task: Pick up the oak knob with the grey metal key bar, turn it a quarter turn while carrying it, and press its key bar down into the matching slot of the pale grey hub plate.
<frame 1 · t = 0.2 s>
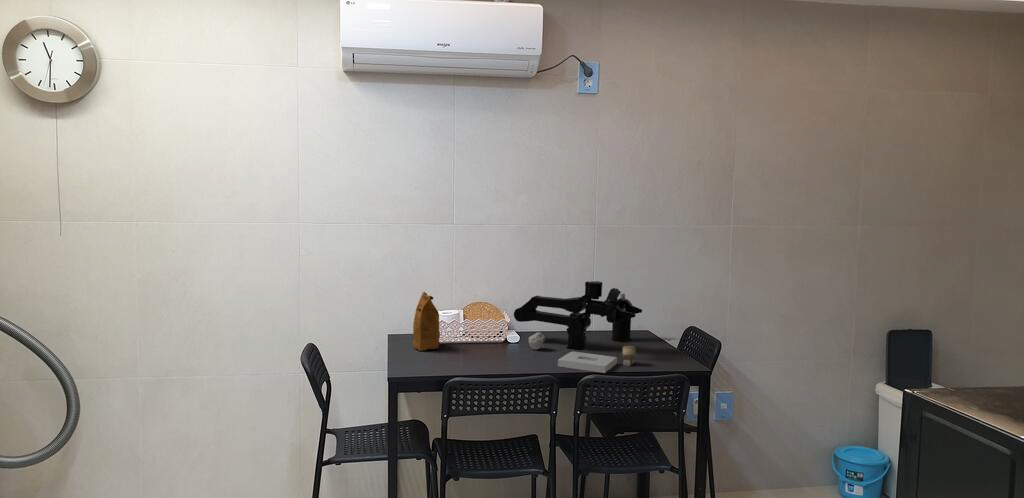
hand: (638, 313, 278), 17 cm above the table, tool horizontal, fingers open, 9 cm apart
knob: (628, 364, 268), on the table
hub plate: (587, 365, 265), on the table
aerosol can: (621, 340, 306), on the table
coffee package: (425, 348, 287), on the table
grey rock: (536, 350, 287), on the table
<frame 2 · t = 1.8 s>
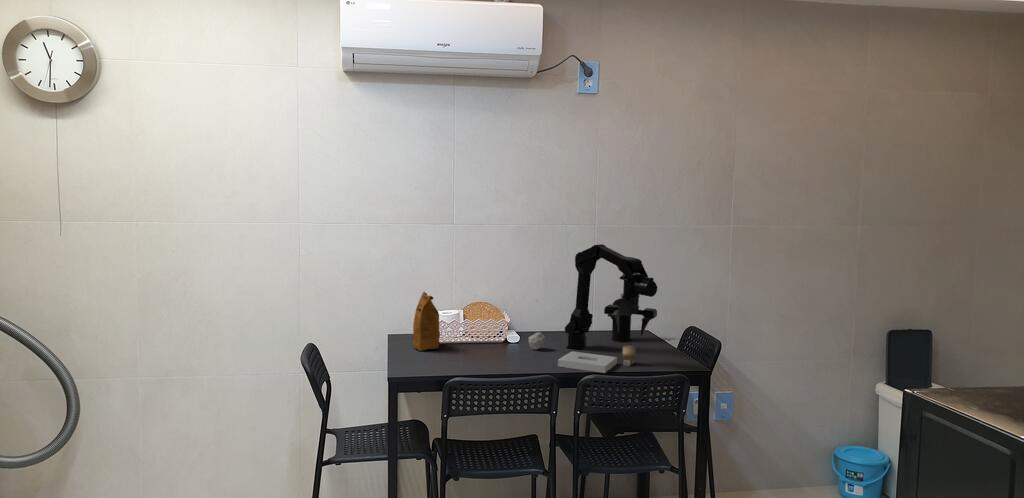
hand: (629, 334, 267), 11 cm above the table, tool pointing down, fingers open, 9 cm apart
nothing on the table moved.
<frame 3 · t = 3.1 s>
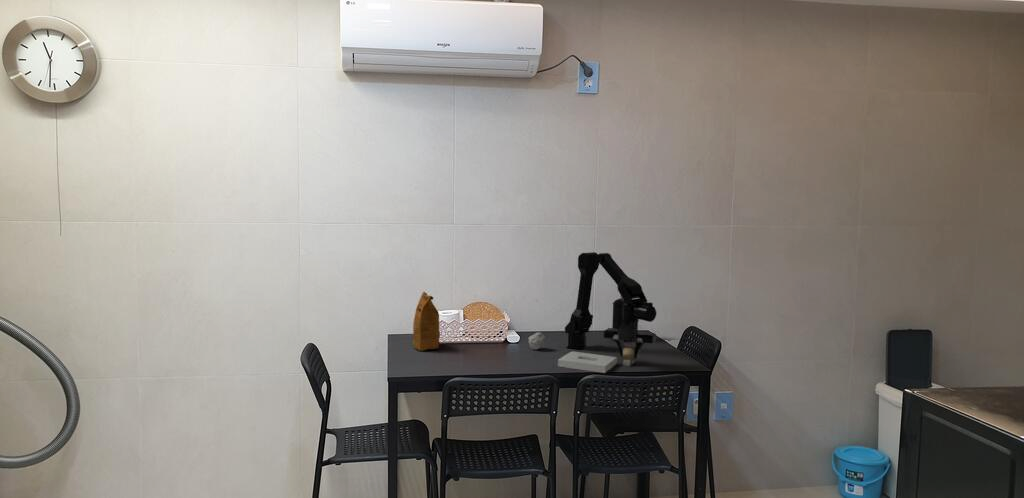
hand: (628, 358, 267), 2 cm above the table, tool pointing down, fingers closed on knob, 5 cm apart
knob: (628, 364, 268), on the table, touching gripper
everything else where it was.
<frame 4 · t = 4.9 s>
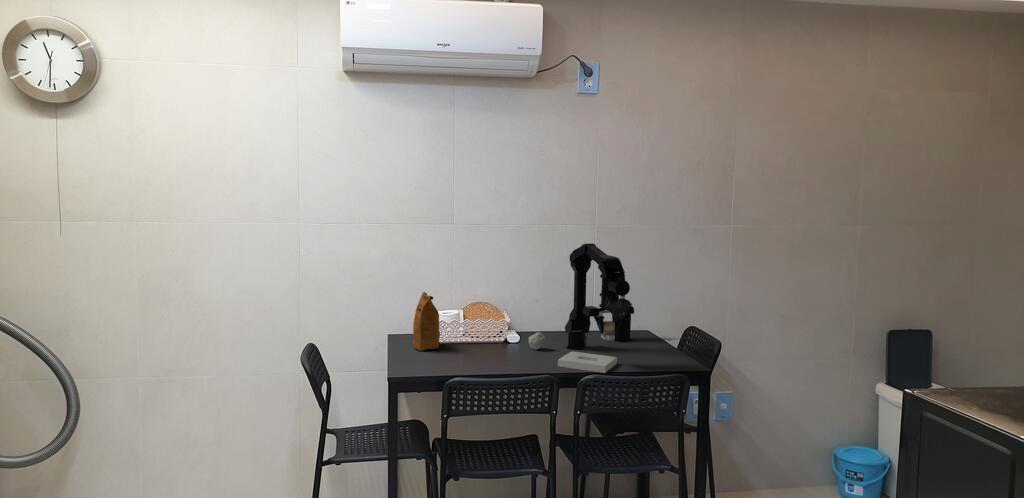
hand: (607, 333, 265), 12 cm above the table, tool pointing down, fingers closed on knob, 5 cm apart
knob: (607, 339, 265), point 10 cm above the table, touching gripper
everything else where it was.
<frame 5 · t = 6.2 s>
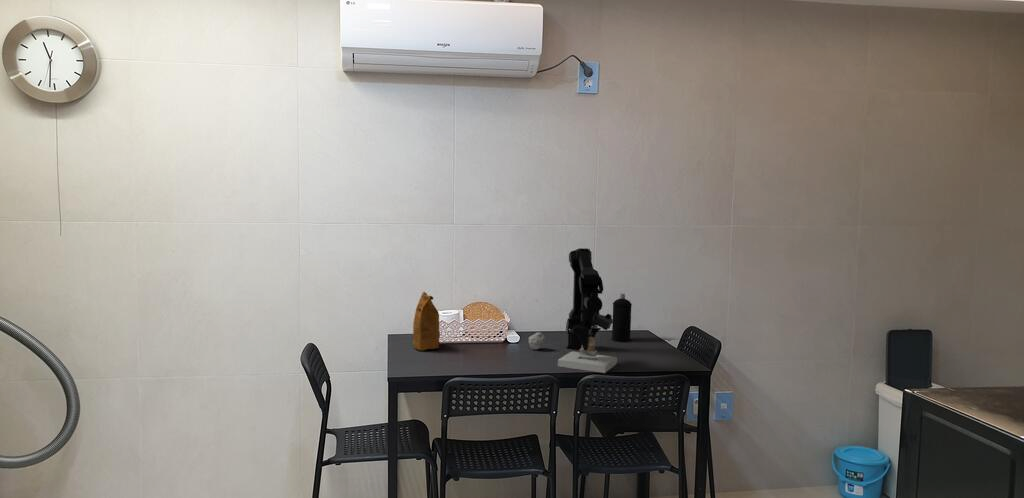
hand: (588, 348, 265), 6 cm above the table, tool pointing down, fingers closed on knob, 5 cm apart
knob: (588, 354, 265), point 4 cm above the table, touching gripper
everything else where it was.
when the fingers open (4 cm above the table, at t = 7.0 s): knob drops 1 cm, resting on hub plate.
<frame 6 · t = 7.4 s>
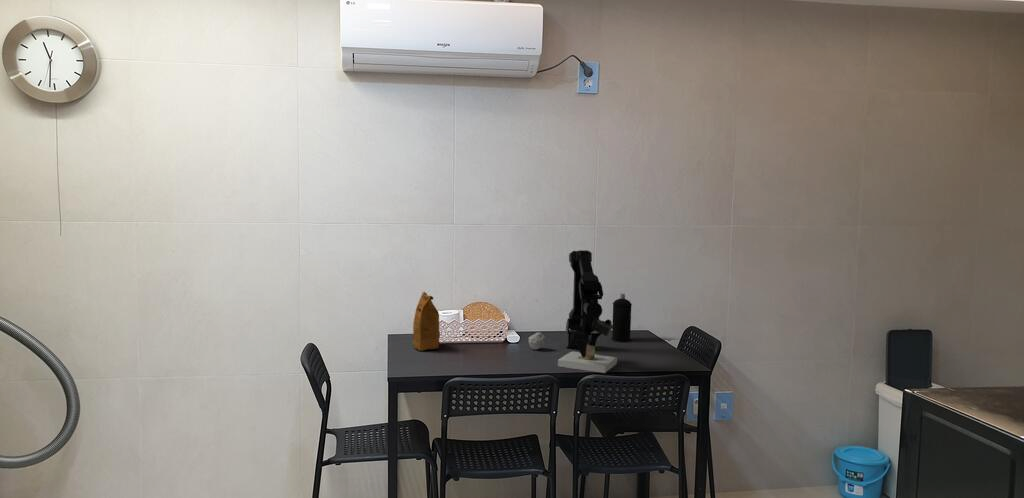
hand: (587, 354, 265), 4 cm above the table, tool pointing down, fingers open, 9 cm apart
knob: (587, 363, 265), resting on hub plate
everything else where it was.
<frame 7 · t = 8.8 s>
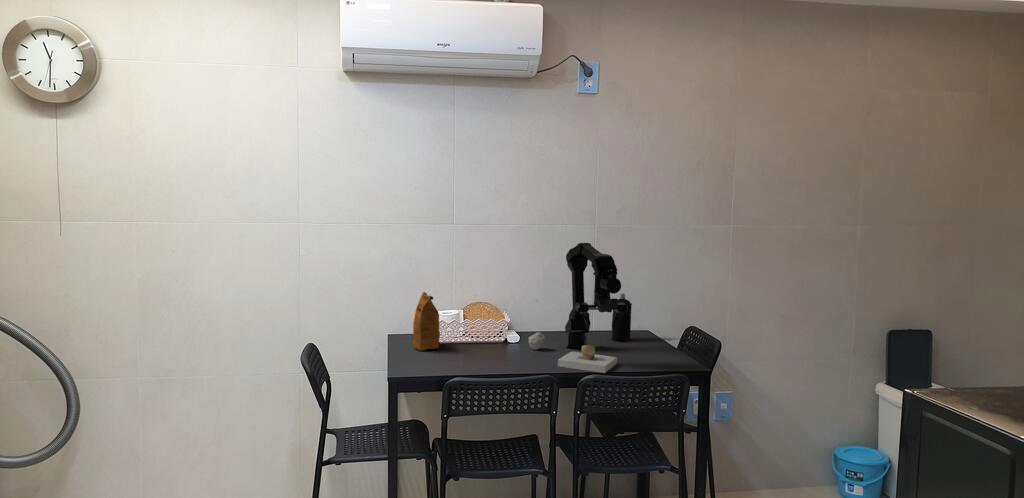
hand: (600, 330, 268), 12 cm above the table, tool pointing down, fingers open, 9 cm apart
nothing on the table moved.
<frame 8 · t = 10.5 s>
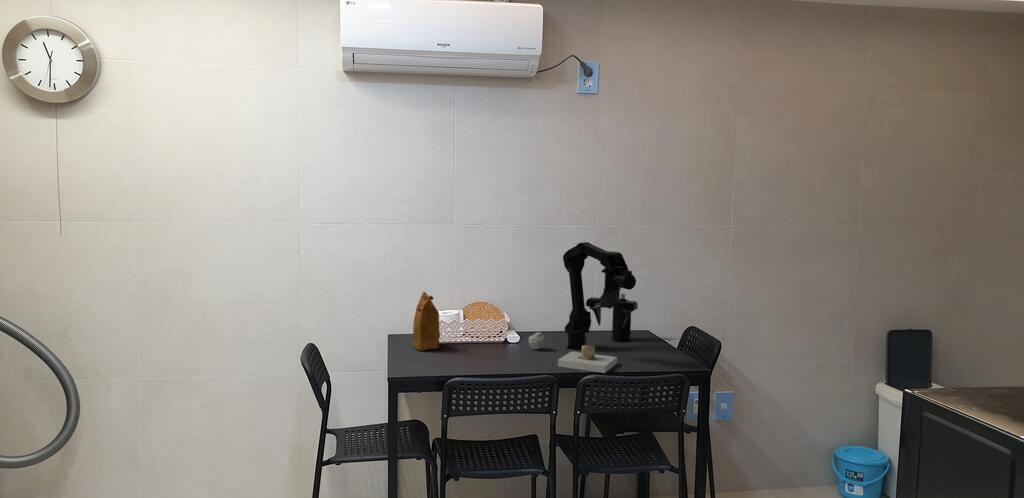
hand: (610, 326, 271), 13 cm above the table, tool pointing down, fingers open, 9 cm apart
nothing on the table moved.
at the end: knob 0.1 cm off-centre on the hub plate, point 0.5 cm above the hub plate's base; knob tilted 0°; the gripper is holding nothing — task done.
